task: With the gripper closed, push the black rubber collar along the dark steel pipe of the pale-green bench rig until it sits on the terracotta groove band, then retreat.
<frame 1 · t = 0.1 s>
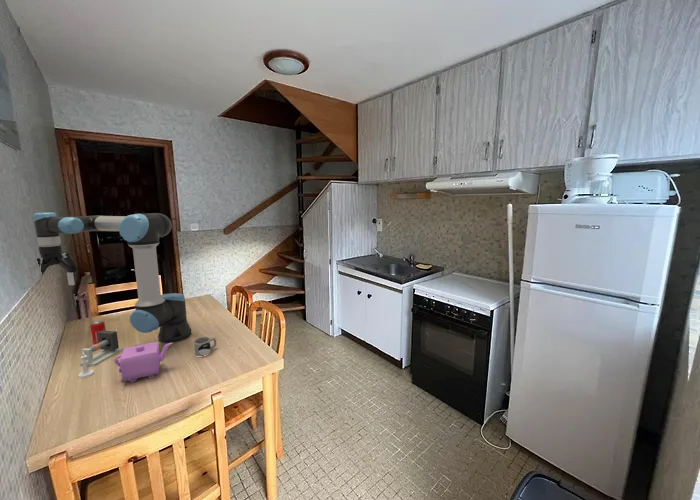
hand: (57, 289, 141), 28 cm above the table, fingers open, 13 cm apart
teapot: (147, 373, 121), on the table
beverage can: (100, 345, 144), on the table
collar: (108, 340, 136), point 6 cm above the table, slide at 0.0 cm
chess piece: (86, 375, 120), on the table
mug: (206, 352, 138), on the table
pipe rig: (102, 357, 133), on the table
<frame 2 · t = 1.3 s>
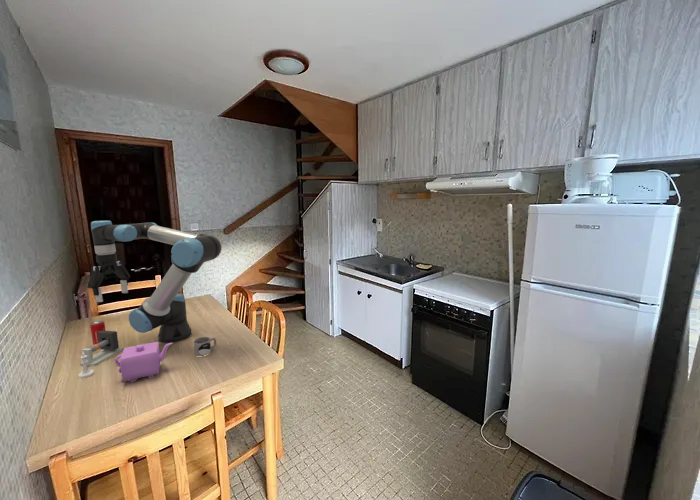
hand: (112, 297, 141), 24 cm above the table, fingers open, 13 cm apart
nothing on the table moved.
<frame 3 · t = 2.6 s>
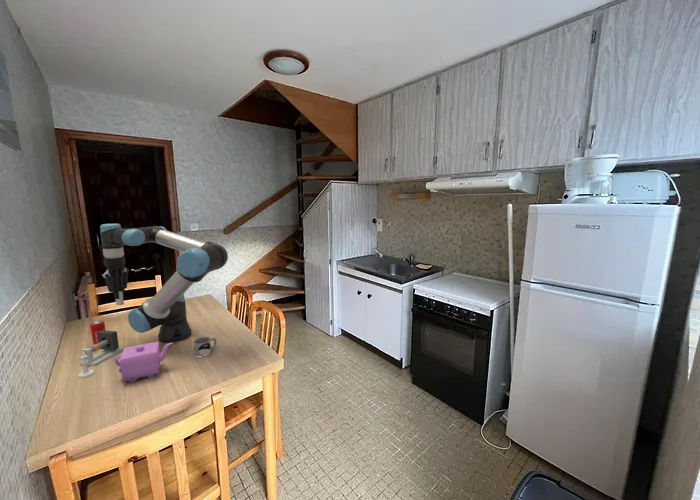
hand: (120, 304, 141), 21 cm above the table, fingers closed
nothing on the table moved.
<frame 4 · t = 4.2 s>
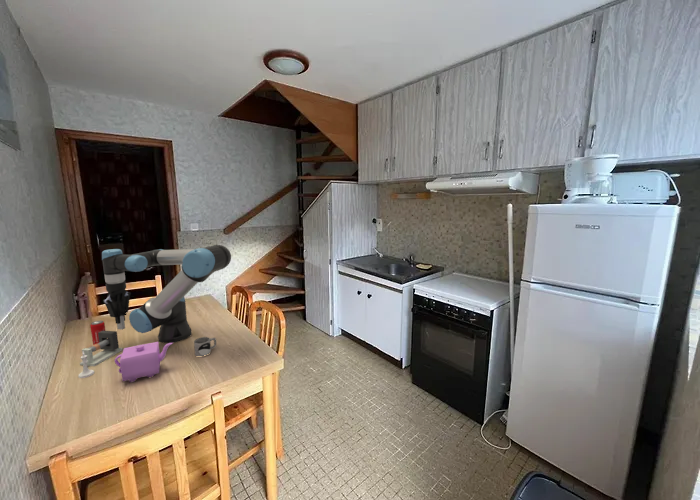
hand: (121, 328, 142), 9 cm above the table, fingers closed
nothing on the table moved.
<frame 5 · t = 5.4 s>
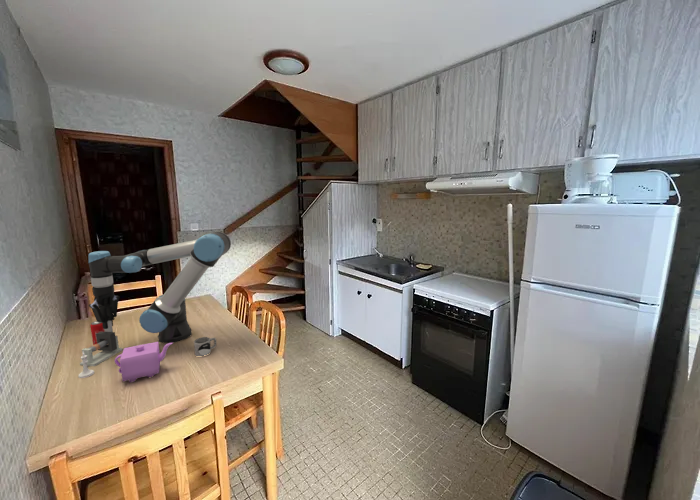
hand: (109, 334, 136), 9 cm above the table, fingers closed
collar: (106, 341, 135), point 6 cm above the table, slide at 1.0 cm, touching gripper
everything else where it was.
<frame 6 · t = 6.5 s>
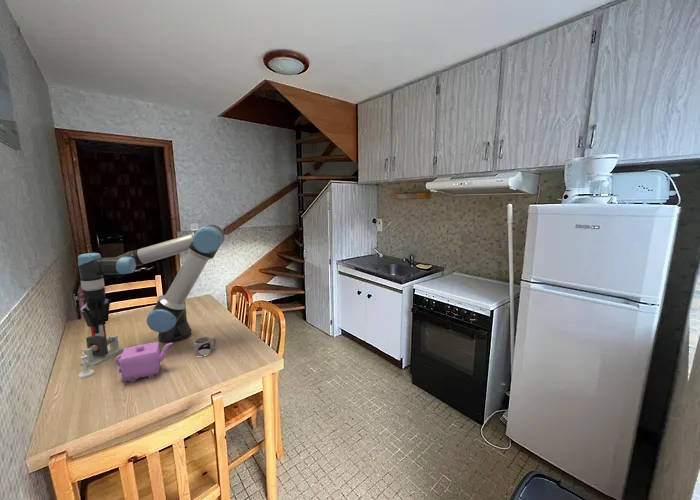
hand: (100, 338, 132), 9 cm above the table, fingers closed
collar: (97, 346, 130), point 6 cm above the table, slide at 5.4 cm, touching gripper
everything else where it was.
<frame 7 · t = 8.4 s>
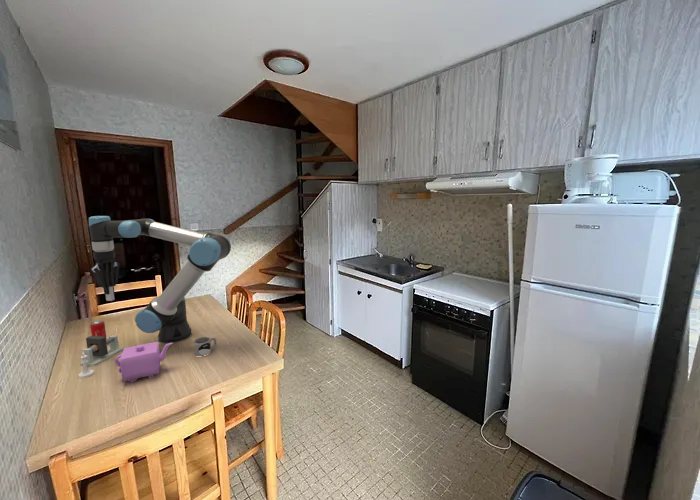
hand: (110, 300, 136), 25 cm above the table, fingers closed
collar: (97, 346, 130), point 6 cm above the table, slide at 5.5 cm
everything else where it was.
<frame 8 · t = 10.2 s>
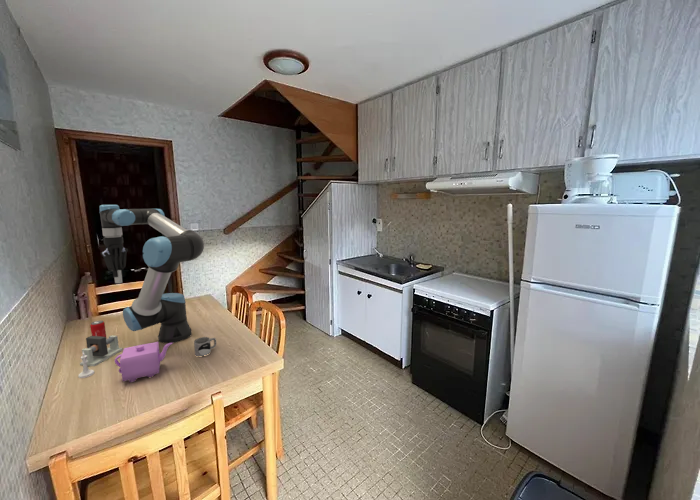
hand: (118, 282, 147), 29 cm above the table, fingers closed
nothing on the table moved.
at the end: collar slide at 5.5 cm; the gripper is holding nothing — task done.
